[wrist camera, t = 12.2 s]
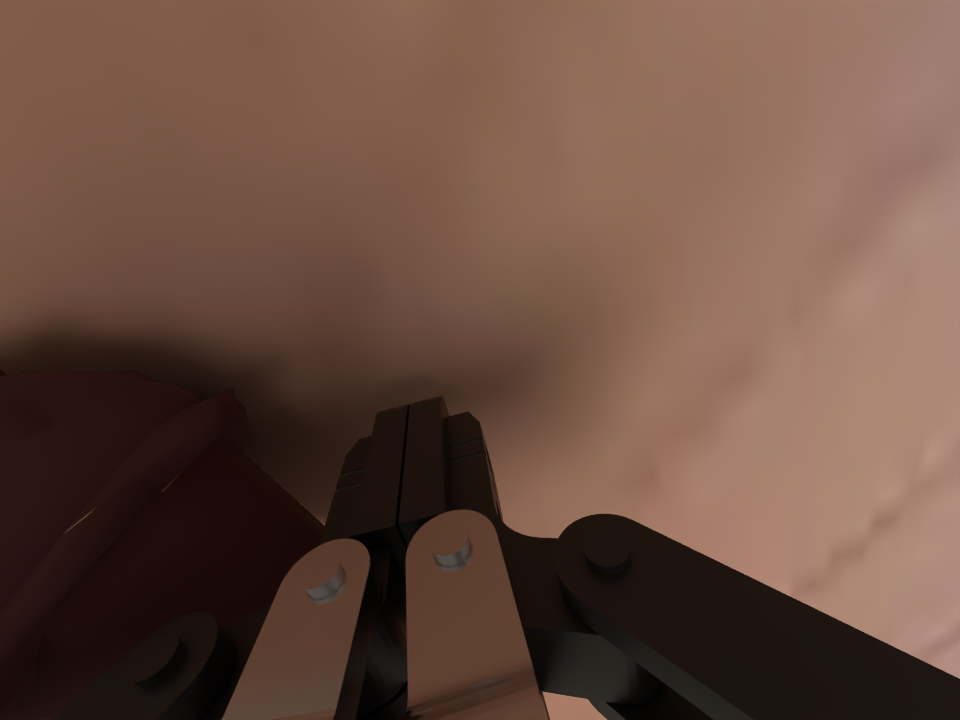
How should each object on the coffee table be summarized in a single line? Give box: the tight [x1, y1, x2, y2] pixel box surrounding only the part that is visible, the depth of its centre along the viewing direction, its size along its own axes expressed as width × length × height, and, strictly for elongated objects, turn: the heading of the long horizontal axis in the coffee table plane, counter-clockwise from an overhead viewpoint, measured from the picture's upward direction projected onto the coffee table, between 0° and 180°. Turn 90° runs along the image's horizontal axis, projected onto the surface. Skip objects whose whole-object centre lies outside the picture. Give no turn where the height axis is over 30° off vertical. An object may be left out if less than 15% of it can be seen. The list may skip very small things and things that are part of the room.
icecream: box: [0, 369, 325, 720], centre depth 8 cm, size 7×7×15 cm
